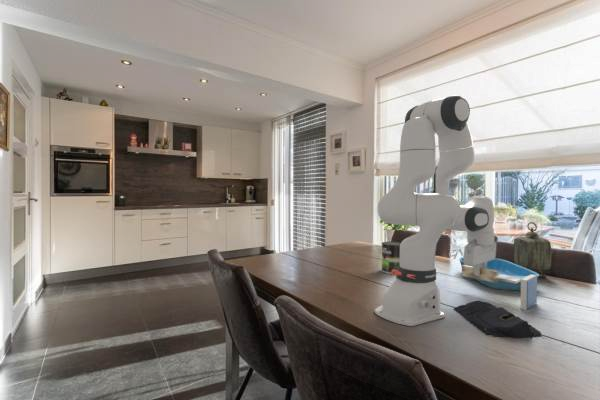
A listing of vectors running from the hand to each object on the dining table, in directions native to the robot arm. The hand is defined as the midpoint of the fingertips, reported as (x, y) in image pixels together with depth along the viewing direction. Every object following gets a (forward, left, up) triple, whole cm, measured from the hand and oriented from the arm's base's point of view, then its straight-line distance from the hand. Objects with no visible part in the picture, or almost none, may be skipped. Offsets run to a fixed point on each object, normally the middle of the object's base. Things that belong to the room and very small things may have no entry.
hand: (479, 274), depth 118 cm
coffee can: (+2, +41, -8) cm, 42 cm away
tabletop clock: (+48, -3, -8) cm, 49 cm away
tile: (0, -16, -8) cm, 18 cm away
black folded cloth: (-24, -14, -8) cm, 28 cm away
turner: (0, -4, -2) cm, 4 cm away
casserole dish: (+25, +4, -8) cm, 27 cm away
